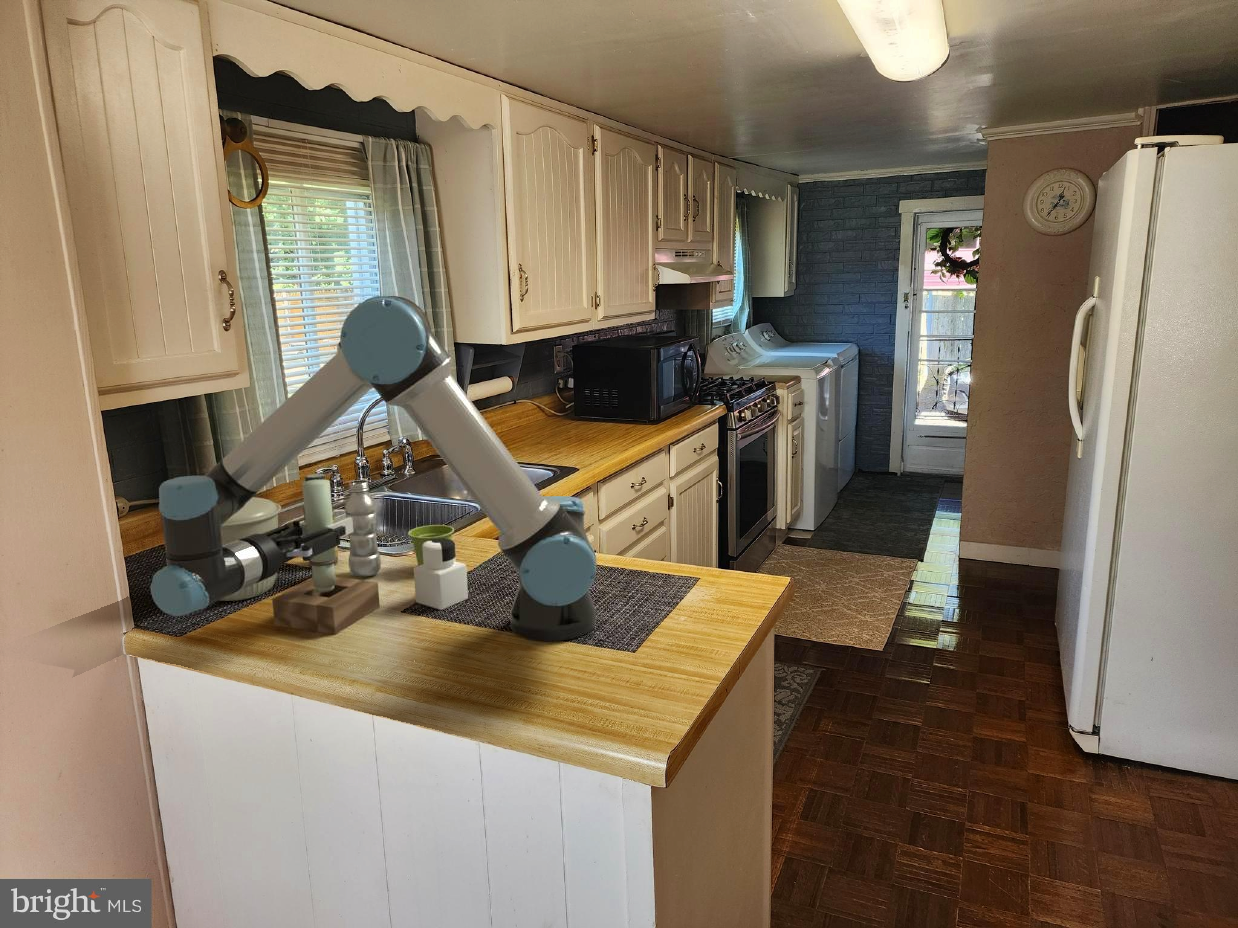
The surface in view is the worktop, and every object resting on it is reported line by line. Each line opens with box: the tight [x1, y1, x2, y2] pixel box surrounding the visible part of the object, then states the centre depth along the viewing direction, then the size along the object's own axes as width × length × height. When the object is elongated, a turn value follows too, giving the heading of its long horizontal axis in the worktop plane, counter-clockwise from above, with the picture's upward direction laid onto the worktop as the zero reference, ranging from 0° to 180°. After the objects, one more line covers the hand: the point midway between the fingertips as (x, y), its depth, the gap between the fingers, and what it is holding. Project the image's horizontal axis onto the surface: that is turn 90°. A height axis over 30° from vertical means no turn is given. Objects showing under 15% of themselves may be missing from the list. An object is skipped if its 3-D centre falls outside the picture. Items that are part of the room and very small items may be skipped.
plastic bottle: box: [343, 479, 382, 578], centre depth 175 cm, size 6×7×20 cm
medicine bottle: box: [413, 538, 469, 611], centre depth 161 cm, size 7×7×12 cm
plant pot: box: [407, 524, 455, 566], centre depth 178 cm, size 9×9×9 cm
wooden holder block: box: [271, 576, 381, 635], centre depth 155 cm, size 13×13×5 cm
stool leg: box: [301, 479, 336, 593], centre depth 152 cm, size 5×5×20 cm
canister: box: [218, 496, 282, 602], centre depth 166 cm, size 18×18×21 cm
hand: (339, 523), depth 156 cm, fingers closed on stool leg, 4 cm apart
